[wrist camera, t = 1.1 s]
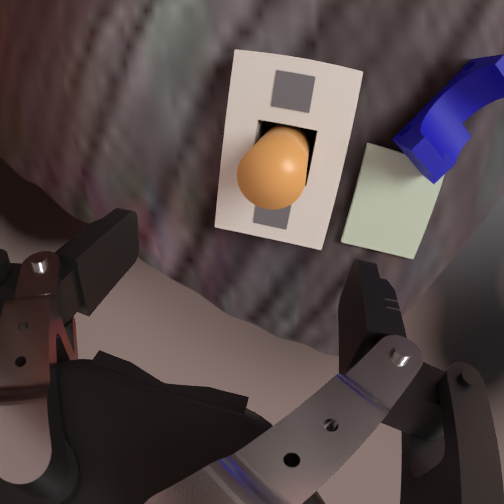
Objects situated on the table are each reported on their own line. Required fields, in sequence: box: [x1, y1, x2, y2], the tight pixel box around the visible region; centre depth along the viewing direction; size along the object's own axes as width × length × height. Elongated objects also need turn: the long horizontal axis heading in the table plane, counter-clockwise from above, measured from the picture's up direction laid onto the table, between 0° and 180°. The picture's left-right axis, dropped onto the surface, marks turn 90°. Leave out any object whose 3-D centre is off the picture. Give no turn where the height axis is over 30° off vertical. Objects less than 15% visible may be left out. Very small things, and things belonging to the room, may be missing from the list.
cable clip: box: [392, 55, 504, 184], centre depth 20 cm, size 12×4×6 cm, turn 140°
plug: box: [237, 124, 310, 210], centre depth 23 cm, size 4×4×10 cm
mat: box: [341, 143, 445, 259], centre depth 28 cm, size 10×8×1 cm
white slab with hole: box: [215, 50, 363, 250], centre depth 26 cm, size 16×10×3 cm, turn 172°
